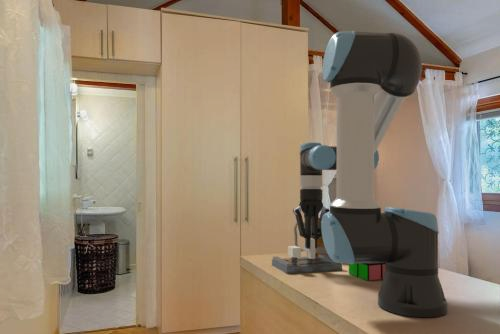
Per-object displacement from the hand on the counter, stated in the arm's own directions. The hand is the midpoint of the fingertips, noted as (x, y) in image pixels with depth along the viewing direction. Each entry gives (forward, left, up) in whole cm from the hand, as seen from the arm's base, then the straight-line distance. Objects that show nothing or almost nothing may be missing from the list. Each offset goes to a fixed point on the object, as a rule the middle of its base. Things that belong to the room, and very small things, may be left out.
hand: (311, 258), depth 134 cm
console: (+4, 0, -4) cm, 5 cm away
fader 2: (+7, -3, -2) cm, 8 cm away
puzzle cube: (-13, -14, -4) cm, 20 cm away
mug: (+20, -13, -4) cm, 24 cm away
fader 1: (0, +6, -2) cm, 6 cm away
